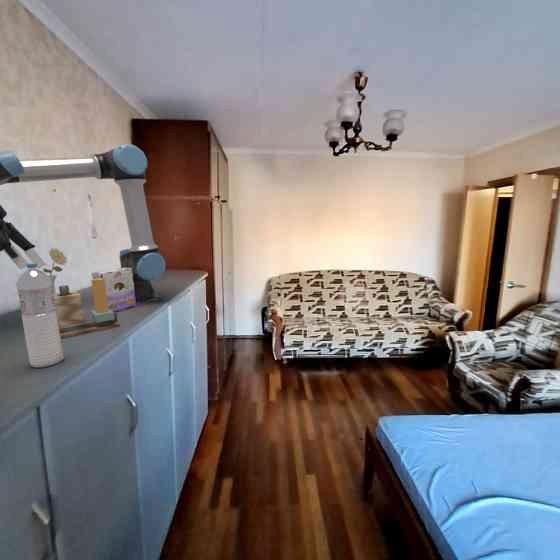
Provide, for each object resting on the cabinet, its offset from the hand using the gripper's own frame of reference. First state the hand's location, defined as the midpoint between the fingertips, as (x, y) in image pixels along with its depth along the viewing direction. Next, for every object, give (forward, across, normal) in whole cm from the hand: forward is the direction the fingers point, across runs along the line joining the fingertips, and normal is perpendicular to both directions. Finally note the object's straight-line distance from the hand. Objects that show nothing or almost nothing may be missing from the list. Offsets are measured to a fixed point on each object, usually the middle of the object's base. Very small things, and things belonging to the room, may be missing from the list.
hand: (34, 266), depth 97 cm
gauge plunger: (+14, -8, -2) cm, 16 cm away
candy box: (+26, -20, +8) cm, 34 cm away
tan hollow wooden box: (+20, -9, -5) cm, 23 cm away
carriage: (+25, +3, +6) cm, 26 cm away
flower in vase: (+13, -33, -13) cm, 38 cm away
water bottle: (+26, +28, -4) cm, 38 cm away
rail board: (+25, +4, +1) cm, 26 cm away
